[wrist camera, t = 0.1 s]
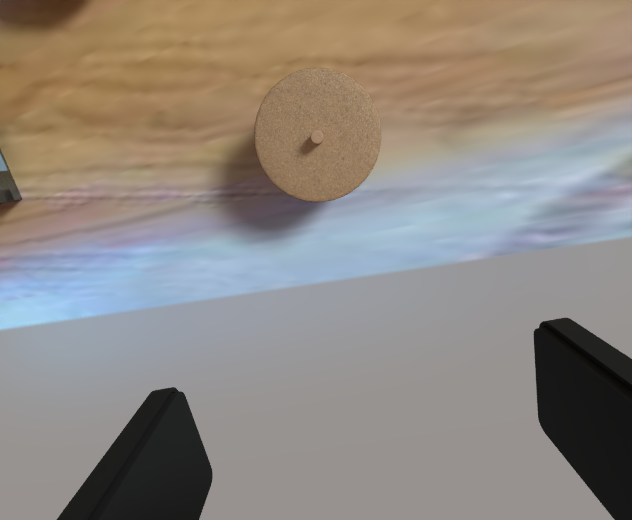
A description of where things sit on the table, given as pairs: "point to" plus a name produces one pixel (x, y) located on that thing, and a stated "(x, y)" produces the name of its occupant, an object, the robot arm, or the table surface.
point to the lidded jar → (317, 134)
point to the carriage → (2, 165)
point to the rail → (8, 186)
